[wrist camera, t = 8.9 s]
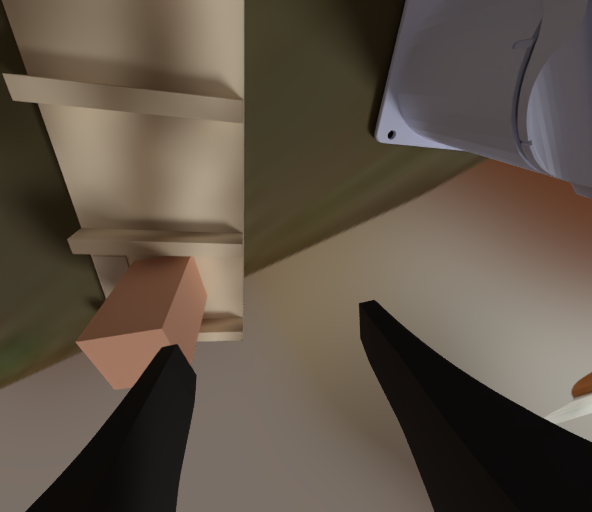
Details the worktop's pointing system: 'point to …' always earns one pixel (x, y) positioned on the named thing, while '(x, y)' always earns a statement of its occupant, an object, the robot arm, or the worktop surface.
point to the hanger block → (146, 318)
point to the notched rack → (146, 133)
